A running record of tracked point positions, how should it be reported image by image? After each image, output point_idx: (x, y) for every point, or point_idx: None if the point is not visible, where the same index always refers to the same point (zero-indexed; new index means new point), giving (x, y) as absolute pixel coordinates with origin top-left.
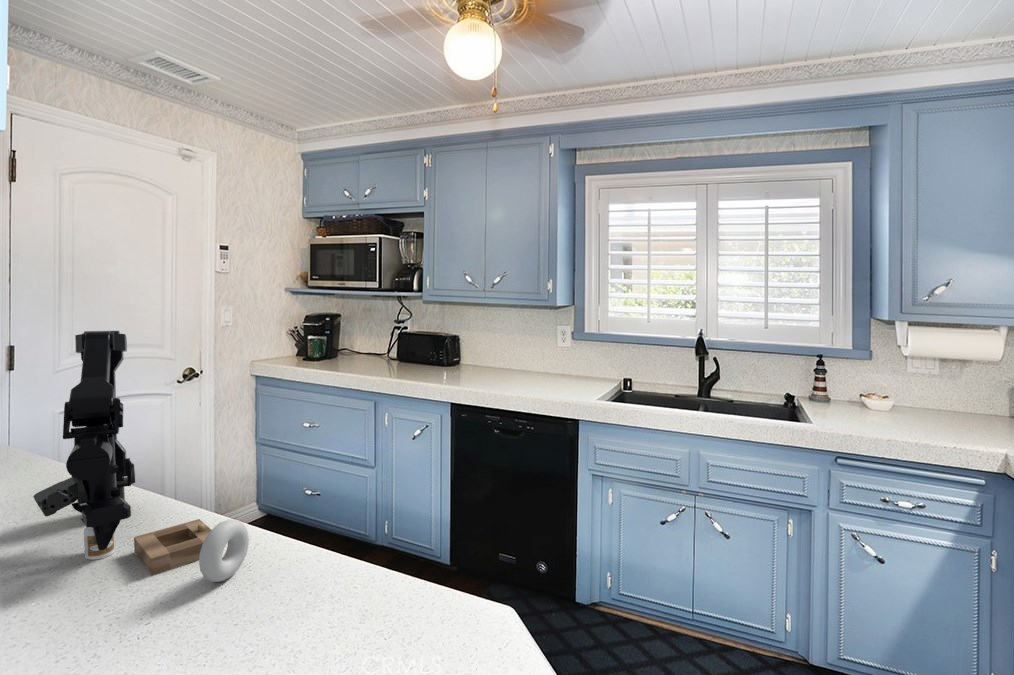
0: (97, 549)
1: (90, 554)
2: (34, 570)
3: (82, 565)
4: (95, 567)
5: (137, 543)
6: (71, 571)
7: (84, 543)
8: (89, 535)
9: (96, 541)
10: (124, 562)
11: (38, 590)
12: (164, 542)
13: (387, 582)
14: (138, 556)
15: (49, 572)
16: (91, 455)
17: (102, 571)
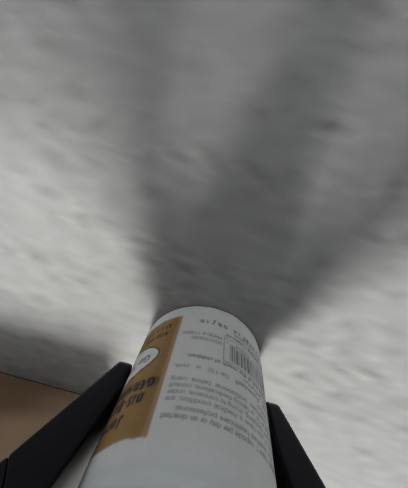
0: (136, 362)
1: (167, 326)
2: (328, 106)
3: (156, 267)
4: (89, 284)
5: (9, 452)
6: (133, 214)
7: (209, 369)
8: (120, 446)
9: (94, 408)
10: (50, 351)
11: (30, 9)
12: None
13: None
14: (44, 391)
15: (217, 147)
16: None
17: (28, 279)
